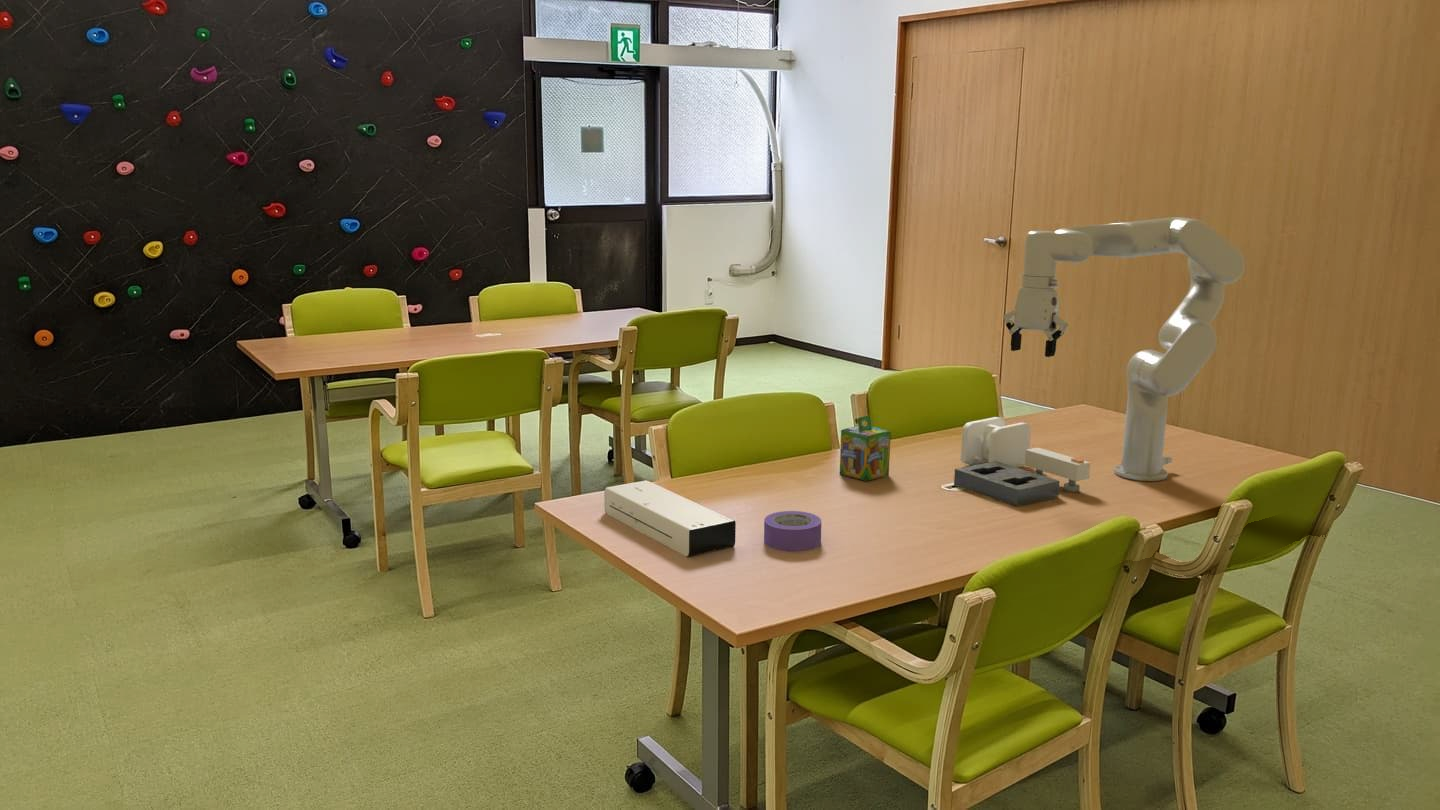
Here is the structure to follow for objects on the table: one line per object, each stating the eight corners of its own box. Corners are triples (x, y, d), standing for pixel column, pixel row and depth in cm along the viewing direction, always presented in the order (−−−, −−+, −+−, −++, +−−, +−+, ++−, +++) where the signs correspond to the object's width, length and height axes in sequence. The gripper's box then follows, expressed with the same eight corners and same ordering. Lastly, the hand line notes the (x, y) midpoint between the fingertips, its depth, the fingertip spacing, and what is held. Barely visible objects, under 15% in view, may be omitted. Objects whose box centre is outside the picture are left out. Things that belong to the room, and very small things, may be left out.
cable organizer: (990, 475, 286) (993, 430, 284) (958, 466, 294) (960, 422, 292) (1028, 466, 295) (1032, 422, 292) (996, 457, 303) (999, 414, 301)
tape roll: (779, 555, 229) (779, 531, 228) (754, 537, 239) (754, 514, 238) (831, 548, 234) (832, 524, 233) (804, 530, 244) (805, 508, 243)
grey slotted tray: (994, 476, 285) (995, 461, 284) (1058, 497, 269) (1059, 480, 268) (953, 484, 278) (954, 469, 277) (1016, 506, 261) (1018, 490, 260)
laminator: (604, 514, 254) (604, 487, 252) (652, 505, 260) (652, 479, 259) (689, 560, 226) (689, 530, 225) (739, 548, 233) (740, 519, 232)
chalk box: (866, 482, 279) (869, 423, 276) (838, 474, 285) (840, 416, 282) (890, 475, 285) (893, 417, 282) (862, 467, 292) (864, 411, 288)
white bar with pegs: (1035, 476, 286) (1038, 445, 284) (1087, 492, 273) (1090, 460, 271) (1023, 478, 284) (1025, 447, 282) (1075, 495, 271) (1078, 462, 269)
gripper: (1078, 285, 271) (1072, 357, 274) (1017, 278, 283) (1011, 346, 287) (1060, 287, 266) (1054, 360, 270) (998, 280, 278) (993, 349, 282)
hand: (1032, 353), depth 278 cm, fingers open, 9 cm apart
